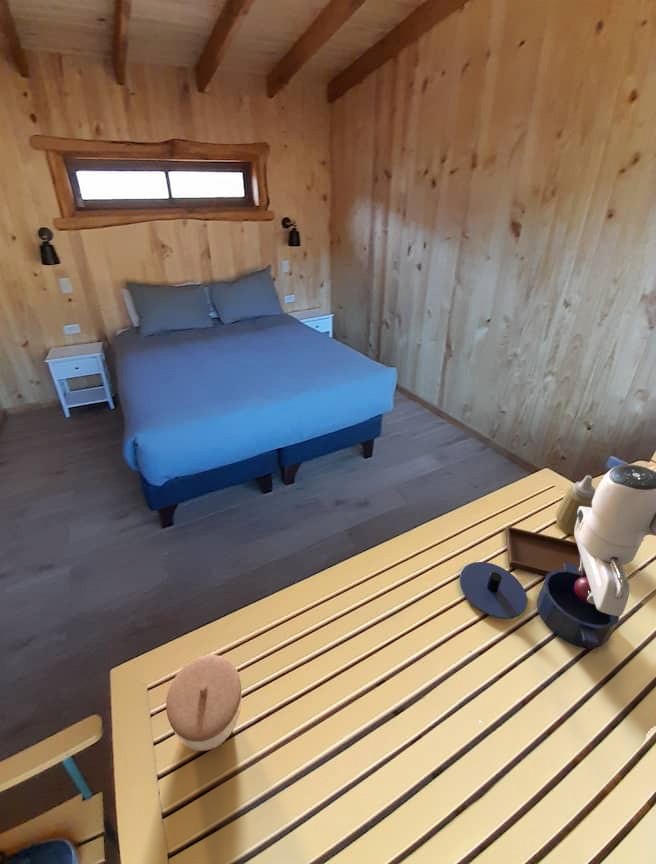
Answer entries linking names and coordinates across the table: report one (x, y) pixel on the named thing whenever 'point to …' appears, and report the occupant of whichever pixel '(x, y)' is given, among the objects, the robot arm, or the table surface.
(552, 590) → the pot
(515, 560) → the tray
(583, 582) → the beet
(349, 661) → the table surface
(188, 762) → the table surface
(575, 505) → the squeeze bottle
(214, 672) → the lidded bowl
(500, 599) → the lid
